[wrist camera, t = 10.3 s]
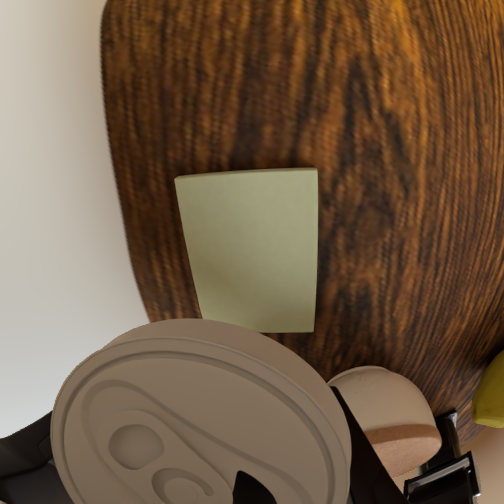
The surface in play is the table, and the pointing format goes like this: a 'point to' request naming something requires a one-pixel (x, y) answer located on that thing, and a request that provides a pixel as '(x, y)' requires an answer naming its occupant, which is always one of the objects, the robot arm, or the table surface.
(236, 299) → the mat
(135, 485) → the beverage can
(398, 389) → the trinket box
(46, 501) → the robot arm
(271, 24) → the table surface
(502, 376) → the lemon
